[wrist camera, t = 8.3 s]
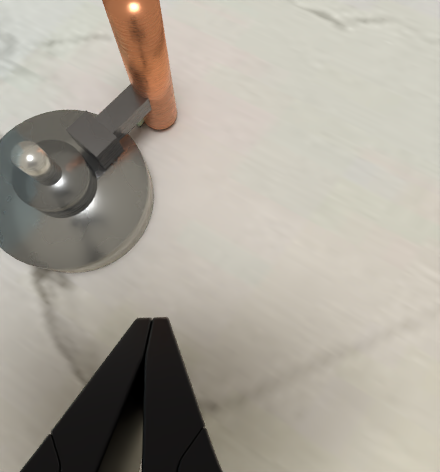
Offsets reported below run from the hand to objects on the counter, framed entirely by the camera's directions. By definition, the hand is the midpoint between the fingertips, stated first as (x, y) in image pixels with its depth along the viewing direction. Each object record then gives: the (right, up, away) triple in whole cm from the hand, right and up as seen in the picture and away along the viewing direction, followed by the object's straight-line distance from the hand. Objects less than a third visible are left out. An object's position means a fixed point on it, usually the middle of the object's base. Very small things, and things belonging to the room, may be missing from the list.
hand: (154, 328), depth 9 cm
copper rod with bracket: (-4, +9, +15) cm, 18 cm away
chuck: (-8, +5, +14) cm, 17 cm away
